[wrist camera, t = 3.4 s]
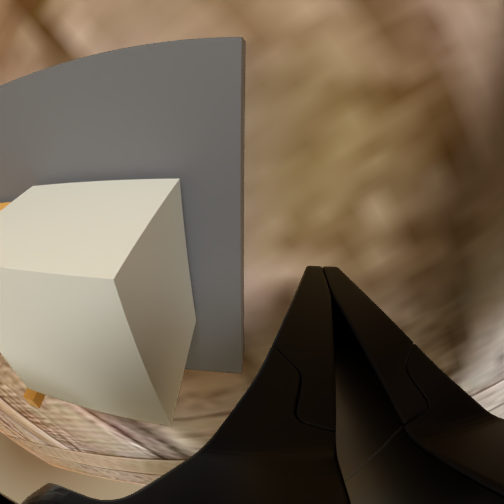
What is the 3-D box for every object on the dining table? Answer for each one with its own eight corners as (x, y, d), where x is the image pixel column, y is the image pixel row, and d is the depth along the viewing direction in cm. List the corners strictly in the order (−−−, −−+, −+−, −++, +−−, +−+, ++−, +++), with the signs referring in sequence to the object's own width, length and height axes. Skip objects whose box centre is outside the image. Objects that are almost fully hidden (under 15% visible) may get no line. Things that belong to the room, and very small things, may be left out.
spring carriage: (179, 178, 8) (113, 279, 4) (196, 320, 10) (171, 426, 7) (32, 185, 8) (-53, 259, 4) (73, 306, 10) (28, 388, 7)
